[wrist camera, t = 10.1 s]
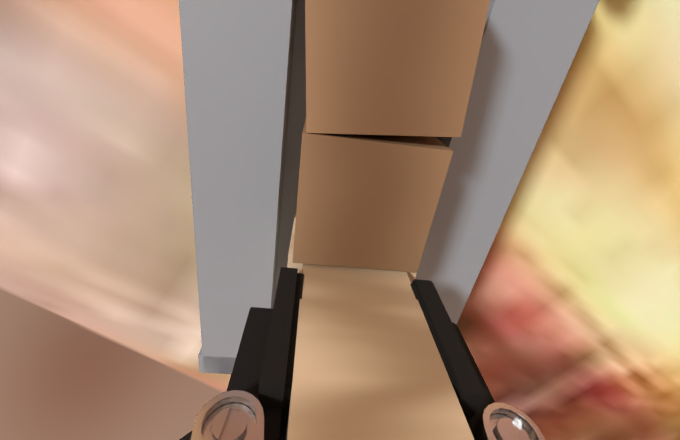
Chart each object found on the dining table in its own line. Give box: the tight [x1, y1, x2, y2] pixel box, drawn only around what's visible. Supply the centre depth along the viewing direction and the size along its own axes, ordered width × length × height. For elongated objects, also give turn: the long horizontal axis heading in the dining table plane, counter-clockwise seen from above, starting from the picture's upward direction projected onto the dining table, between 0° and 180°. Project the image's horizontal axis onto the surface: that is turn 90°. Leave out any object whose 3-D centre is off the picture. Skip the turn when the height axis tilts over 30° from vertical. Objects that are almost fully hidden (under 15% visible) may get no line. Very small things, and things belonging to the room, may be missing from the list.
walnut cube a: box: [292, 120, 453, 272], centre depth 11 cm, size 4×4×4 cm
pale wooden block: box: [285, 208, 474, 440], centre depth 9 cm, size 4×4×12 cm
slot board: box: [179, 0, 599, 374], centre depth 13 cm, size 12×19×3 cm, turn 171°
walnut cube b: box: [305, 0, 490, 137], centre depth 9 cm, size 4×4×4 cm
